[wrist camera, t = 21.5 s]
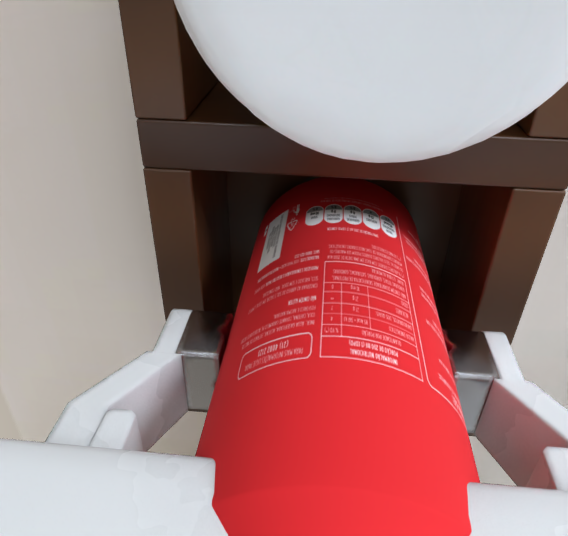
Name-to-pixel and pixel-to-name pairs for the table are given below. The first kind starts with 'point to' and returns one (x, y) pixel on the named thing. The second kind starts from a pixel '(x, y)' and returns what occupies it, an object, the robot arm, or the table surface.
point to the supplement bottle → (384, 68)
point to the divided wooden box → (309, 164)
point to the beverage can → (338, 379)
